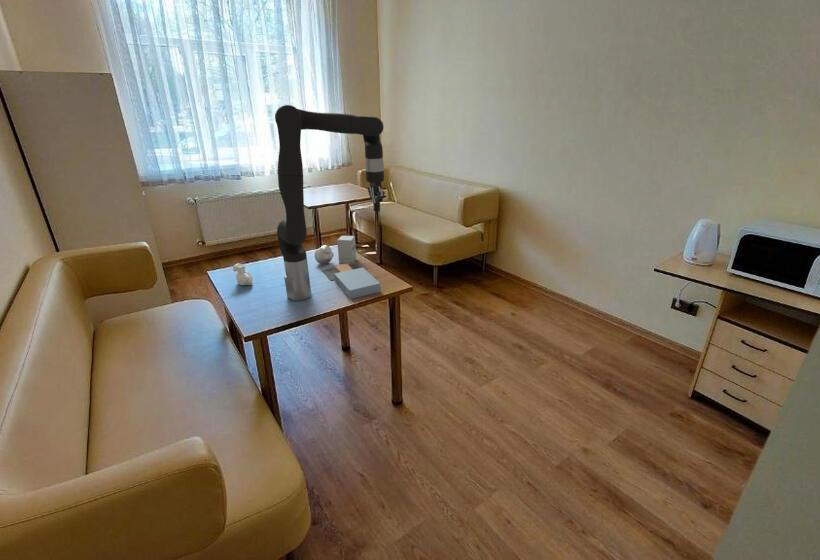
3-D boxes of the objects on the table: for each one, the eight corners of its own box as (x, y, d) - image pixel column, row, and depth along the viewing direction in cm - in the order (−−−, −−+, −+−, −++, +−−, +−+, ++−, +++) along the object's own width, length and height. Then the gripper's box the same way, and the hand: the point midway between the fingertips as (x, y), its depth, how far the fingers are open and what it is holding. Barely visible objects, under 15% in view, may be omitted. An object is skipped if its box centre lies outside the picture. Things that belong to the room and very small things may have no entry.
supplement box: (352, 264, 207) (351, 240, 202) (338, 263, 209) (336, 239, 203) (356, 258, 214) (355, 235, 209) (343, 258, 215) (341, 235, 210)
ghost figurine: (322, 269, 202) (320, 250, 198) (312, 263, 209) (310, 245, 205) (337, 264, 208) (335, 245, 204) (327, 259, 214) (325, 241, 210)
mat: (365, 273, 196) (365, 273, 196) (330, 281, 189) (330, 280, 189) (354, 263, 208) (354, 263, 208) (321, 270, 201) (321, 270, 200)
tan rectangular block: (353, 275, 194) (353, 269, 193) (341, 278, 191) (340, 272, 190) (347, 269, 201) (346, 263, 200) (335, 271, 199) (334, 265, 197)
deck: (380, 291, 178) (380, 283, 177) (350, 298, 173) (349, 290, 171) (363, 275, 195) (362, 267, 193) (334, 281, 189) (334, 273, 187)
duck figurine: (241, 283, 193) (222, 269, 186) (253, 271, 195) (234, 257, 187) (249, 292, 185) (229, 278, 177) (261, 279, 186) (241, 265, 178)
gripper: (390, 170, 163) (391, 213, 170) (376, 166, 173) (378, 206, 181) (372, 172, 160) (374, 216, 167) (360, 167, 170) (362, 209, 178)
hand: (376, 211), depth 174 cm, fingers closed
